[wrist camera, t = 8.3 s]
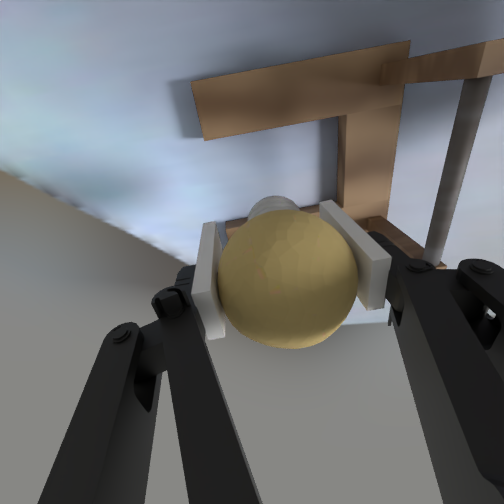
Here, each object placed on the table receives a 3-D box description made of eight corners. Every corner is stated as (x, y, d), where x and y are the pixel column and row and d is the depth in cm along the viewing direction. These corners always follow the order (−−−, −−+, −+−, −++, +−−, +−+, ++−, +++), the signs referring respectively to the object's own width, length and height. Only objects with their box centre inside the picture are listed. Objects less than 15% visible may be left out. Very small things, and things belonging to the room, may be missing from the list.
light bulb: (242, 160, 16) (231, 233, 7) (334, 188, 17) (420, 281, 8) (220, 245, 19) (194, 364, 11) (299, 264, 20) (334, 388, 12)
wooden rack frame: (193, 82, 22) (164, 70, 12) (396, 44, 22) (543, -2, 12) (233, 254, 32) (236, 328, 21) (375, 228, 31) (447, 290, 21)
